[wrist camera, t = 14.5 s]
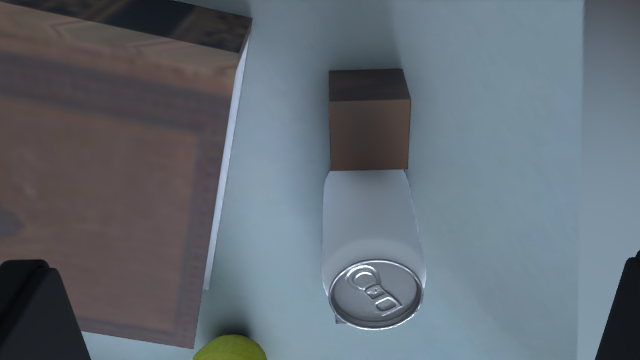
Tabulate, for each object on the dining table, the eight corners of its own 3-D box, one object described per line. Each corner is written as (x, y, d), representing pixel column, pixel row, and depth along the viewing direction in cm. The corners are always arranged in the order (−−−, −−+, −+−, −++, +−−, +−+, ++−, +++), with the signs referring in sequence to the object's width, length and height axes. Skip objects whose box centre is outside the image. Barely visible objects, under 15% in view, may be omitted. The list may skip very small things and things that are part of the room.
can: (378, 134, 42) (393, 236, 32) (424, 195, 45) (450, 307, 35) (306, 177, 44) (299, 286, 34) (354, 233, 47) (360, 349, 37)
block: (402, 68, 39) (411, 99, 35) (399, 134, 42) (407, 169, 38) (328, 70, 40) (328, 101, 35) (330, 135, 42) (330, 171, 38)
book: (-210, -85, 35) (-312, -66, 29) (252, 18, 38) (238, 53, 32) (-132, 231, 48) (-193, 286, 42) (208, 290, 50) (193, 349, 45)
